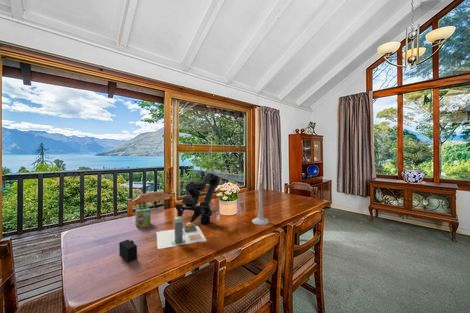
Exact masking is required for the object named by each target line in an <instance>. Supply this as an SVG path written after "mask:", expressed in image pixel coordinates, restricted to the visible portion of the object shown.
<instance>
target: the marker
mask: <svg viewBox="0 0 470 313" xmlns="http://www.w3.org/2000/svg"><path fill="white" fill-rule="evenodd" d="M183 222H184V217H183V216H181V217H178V216H175V217H174V229H175V243H176V244H180V243H182V242H183V225H184V223H183Z"/></svg>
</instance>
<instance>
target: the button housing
mask: <svg viewBox="0 0 470 313" xmlns="http://www.w3.org/2000/svg"><path fill="white" fill-rule="evenodd" d="M195 226H196V225H195V224H194V223H193V228H186V224H183V229H184V231H185V232H190V231H196V227H195Z"/></svg>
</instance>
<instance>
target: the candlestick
mask: <svg viewBox="0 0 470 313" xmlns="http://www.w3.org/2000/svg"><path fill="white" fill-rule="evenodd" d="M263 193H264V191H263V182H259V191H258V194H259V199H258V215H257V216H258V217H255V218H253V219H252V220H251V223H252V222H253V223H252V224H254V225H256V224H257V226H267V225H269V224H270V221H269V219H268V218H264V208H263V206H264V205H263ZM268 223H269V224H268ZM266 224H267V225H266Z"/></svg>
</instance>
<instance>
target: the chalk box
mask: <svg viewBox="0 0 470 313" xmlns="http://www.w3.org/2000/svg"><path fill="white" fill-rule="evenodd" d="M138 206H139V208H135V211H134V212H135V216H134V217H135V218H134V219H135V222H134V223H135V227H136V228H138V229H139V228H143V227H147V226H151V224H152V223H151V222H152V220H151V219H152V216H151V215H152V210H151V209H150V207H149V206H147V203H143V204H139V205H138Z"/></svg>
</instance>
